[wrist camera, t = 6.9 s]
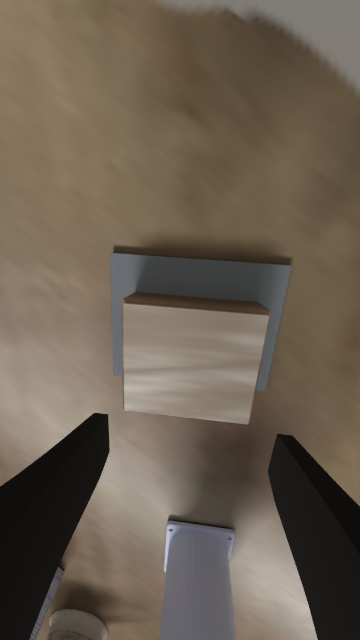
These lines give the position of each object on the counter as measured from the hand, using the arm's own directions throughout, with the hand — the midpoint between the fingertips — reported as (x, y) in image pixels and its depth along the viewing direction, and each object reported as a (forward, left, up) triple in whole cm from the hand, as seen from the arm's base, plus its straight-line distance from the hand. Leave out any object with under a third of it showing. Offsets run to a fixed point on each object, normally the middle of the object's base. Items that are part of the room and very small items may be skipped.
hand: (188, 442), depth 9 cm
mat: (+2, 0, -10) cm, 11 cm away
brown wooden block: (-4, 0, -8) cm, 9 cm away
